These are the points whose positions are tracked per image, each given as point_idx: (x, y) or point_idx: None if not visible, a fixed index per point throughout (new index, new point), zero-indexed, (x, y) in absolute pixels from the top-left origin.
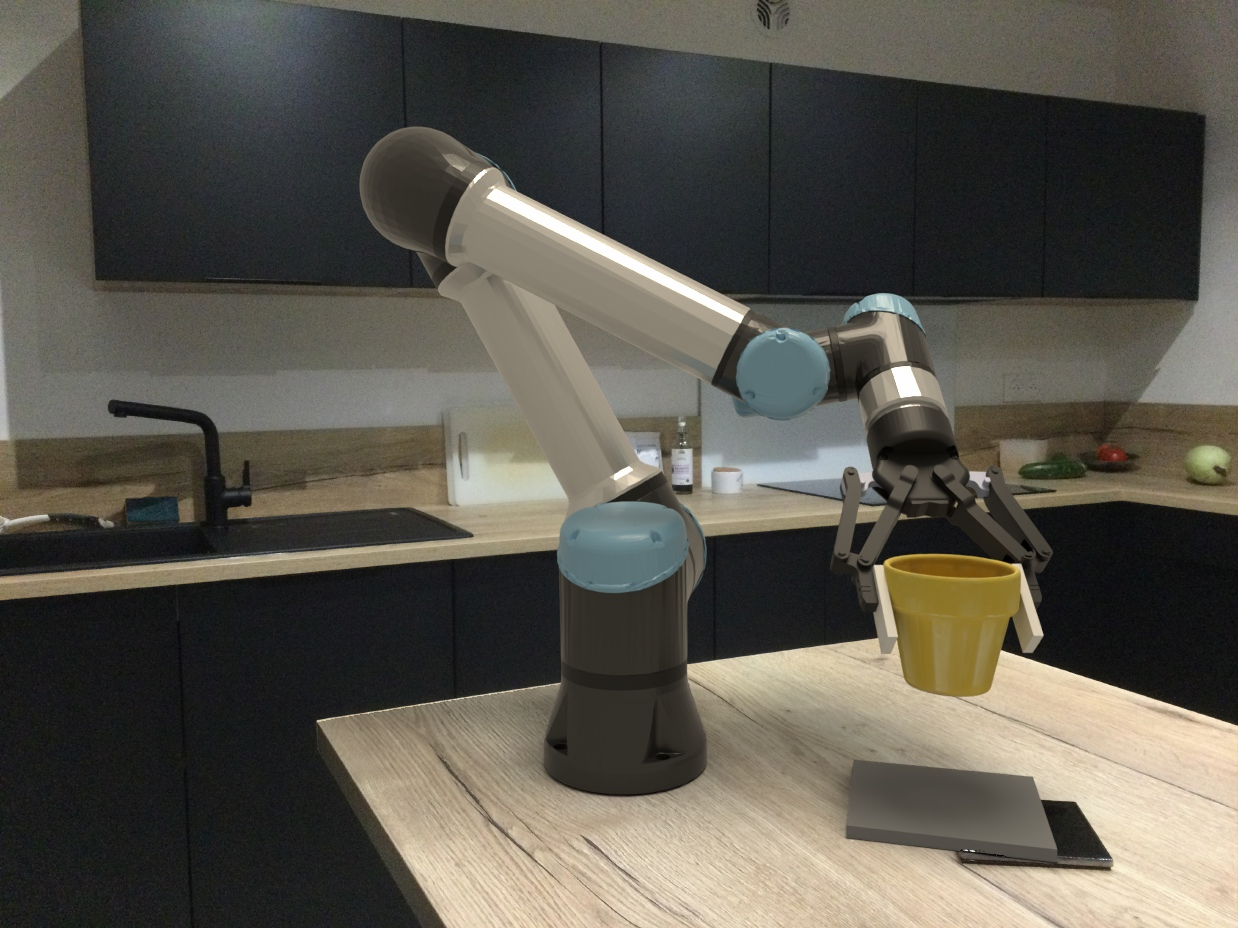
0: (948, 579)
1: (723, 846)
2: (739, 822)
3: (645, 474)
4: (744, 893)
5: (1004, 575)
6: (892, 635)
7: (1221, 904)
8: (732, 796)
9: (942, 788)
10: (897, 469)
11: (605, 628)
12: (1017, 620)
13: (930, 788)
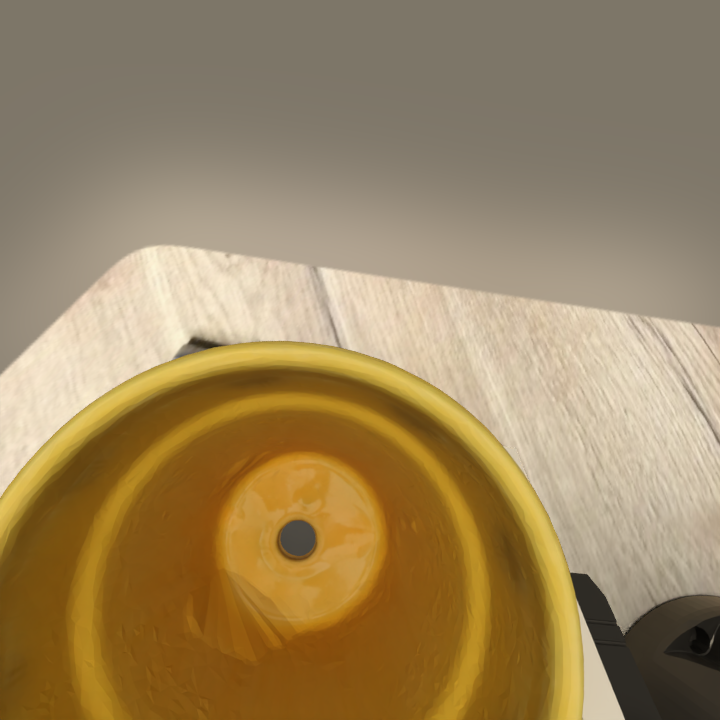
0: (407, 373)
1: (595, 444)
2: (571, 501)
3: None
4: (584, 348)
5: (7, 647)
6: (505, 447)
7: (125, 261)
8: None
9: (295, 538)
10: None
11: None
12: None
13: (313, 540)
